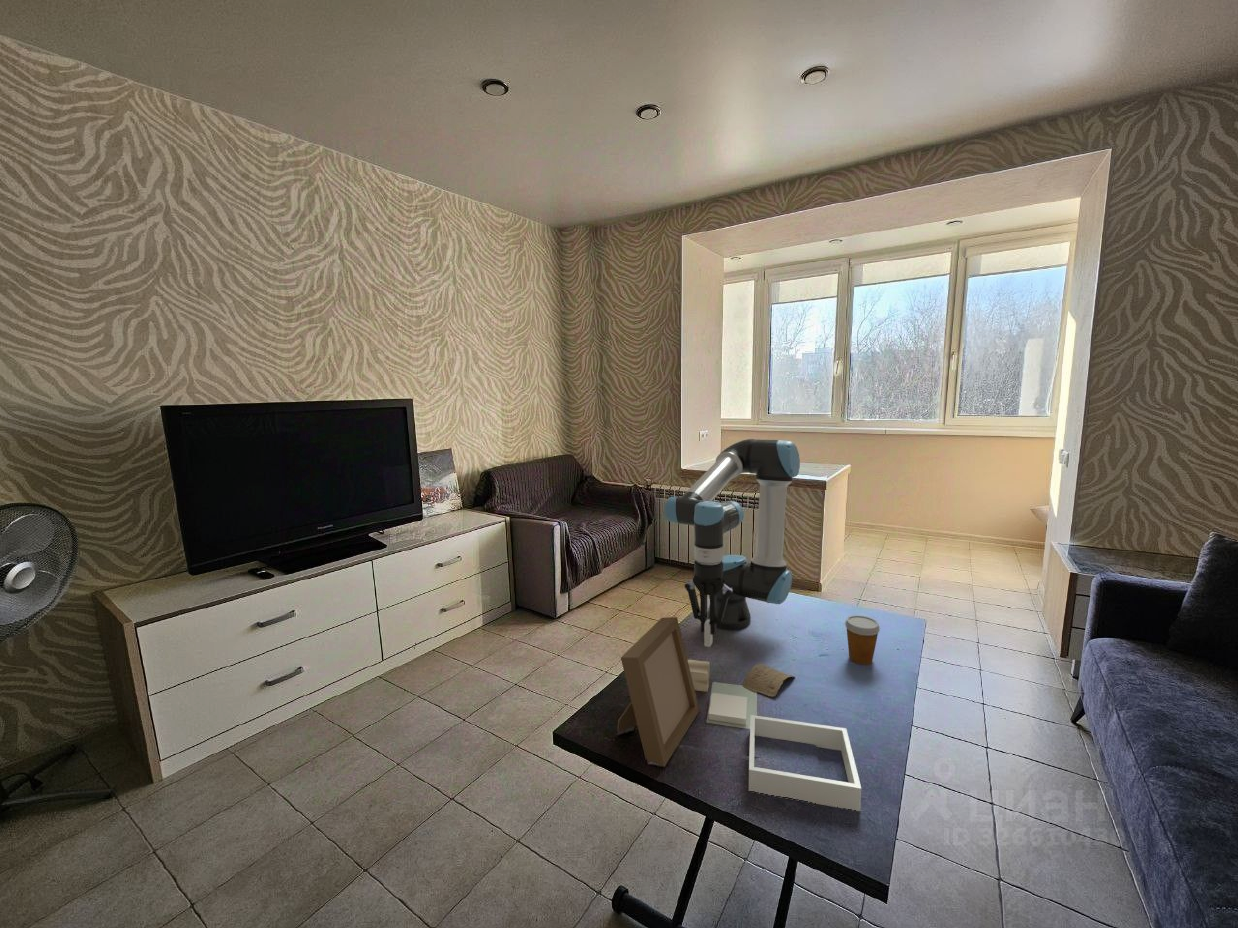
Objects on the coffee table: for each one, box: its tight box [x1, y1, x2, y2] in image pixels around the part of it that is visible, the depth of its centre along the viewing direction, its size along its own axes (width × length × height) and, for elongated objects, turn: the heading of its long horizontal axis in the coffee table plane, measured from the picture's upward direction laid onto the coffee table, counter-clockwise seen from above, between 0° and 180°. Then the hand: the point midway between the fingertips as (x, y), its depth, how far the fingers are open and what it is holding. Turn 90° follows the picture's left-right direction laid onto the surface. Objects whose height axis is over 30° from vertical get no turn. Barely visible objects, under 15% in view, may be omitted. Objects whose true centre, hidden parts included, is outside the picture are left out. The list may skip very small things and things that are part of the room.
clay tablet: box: [742, 663, 794, 697], centre depth 142 cm, size 14×10×3 cm
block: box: [687, 659, 710, 692], centre depth 141 cm, size 6×6×6 cm
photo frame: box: [617, 616, 700, 768], centre depth 121 cm, size 15×22×25 cm
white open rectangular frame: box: [748, 715, 862, 812], centre depth 109 cm, size 18×21×5 cm
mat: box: [705, 681, 758, 730], centre depth 132 cm, size 18×12×1 cm, turn 165°
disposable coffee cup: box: [844, 614, 881, 666], centre depth 152 cm, size 10×10×12 cm
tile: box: [708, 693, 747, 725], centre depth 129 cm, size 2×9×9 cm
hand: (708, 644), depth 137 cm, fingers closed
